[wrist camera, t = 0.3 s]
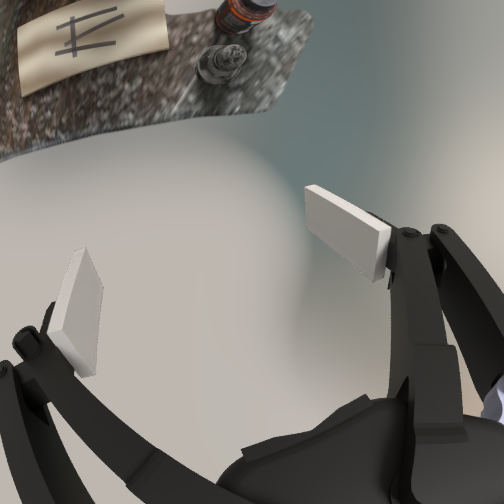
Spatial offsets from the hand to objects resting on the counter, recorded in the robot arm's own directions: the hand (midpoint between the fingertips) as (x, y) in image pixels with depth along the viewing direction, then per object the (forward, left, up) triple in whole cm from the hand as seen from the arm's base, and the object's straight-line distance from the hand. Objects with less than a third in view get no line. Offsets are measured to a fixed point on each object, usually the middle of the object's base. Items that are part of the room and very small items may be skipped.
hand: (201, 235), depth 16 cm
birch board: (-22, -8, -27) cm, 36 cm away
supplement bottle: (-20, +13, -28) cm, 36 cm away
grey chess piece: (-12, +9, -28) cm, 31 cm away
